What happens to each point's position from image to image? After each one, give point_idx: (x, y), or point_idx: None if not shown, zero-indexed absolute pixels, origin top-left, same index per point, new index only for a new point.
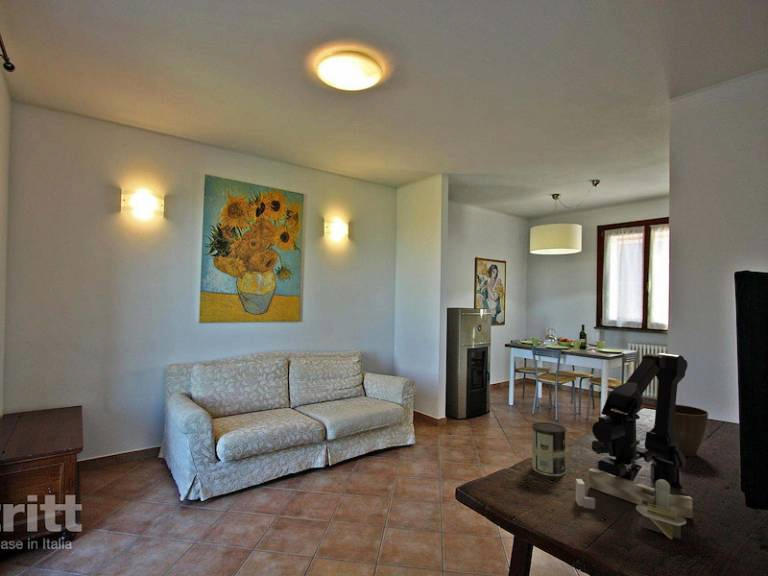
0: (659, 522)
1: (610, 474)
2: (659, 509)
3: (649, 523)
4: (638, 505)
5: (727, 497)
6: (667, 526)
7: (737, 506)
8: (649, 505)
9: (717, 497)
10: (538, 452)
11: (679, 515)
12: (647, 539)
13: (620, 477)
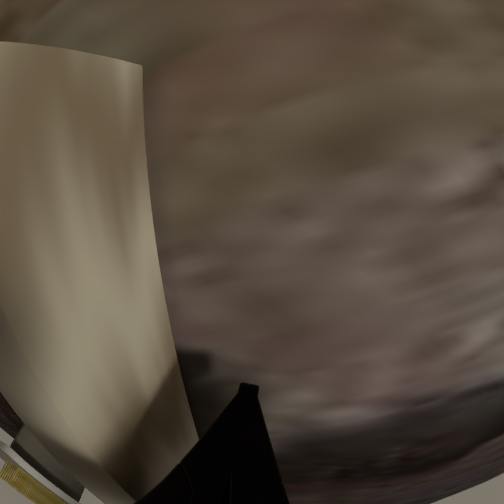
0: (51, 462)
1: (61, 420)
2: None
3: None
4: (5, 453)
5: (483, 478)
6: (65, 469)
7: (434, 500)
8: (13, 482)
9: (475, 476)
10: None
11: None
12: (11, 410)
13: (171, 473)
